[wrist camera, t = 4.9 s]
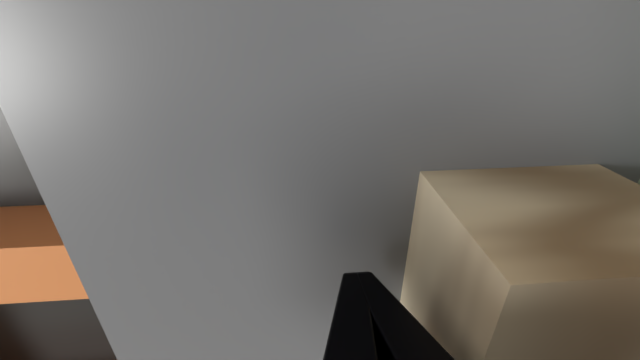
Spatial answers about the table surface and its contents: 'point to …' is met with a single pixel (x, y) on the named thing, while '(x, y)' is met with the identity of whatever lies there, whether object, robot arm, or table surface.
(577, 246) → the birch block
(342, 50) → the trap deck
